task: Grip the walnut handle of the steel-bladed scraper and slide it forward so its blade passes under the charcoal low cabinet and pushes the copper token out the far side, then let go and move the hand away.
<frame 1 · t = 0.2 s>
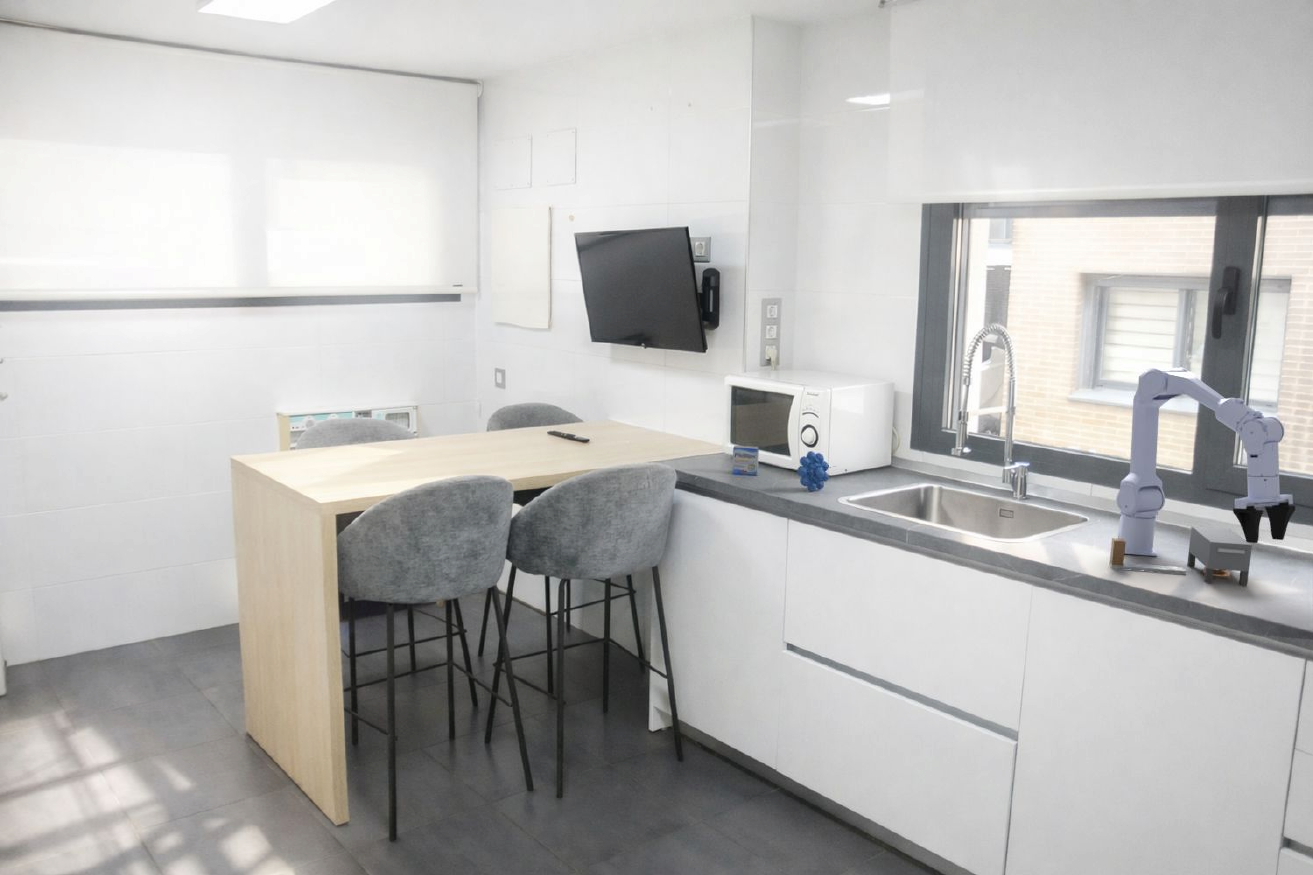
hand: (1265, 540, 214), 10 cm above the table, tool pointing down, fingers open, 7 cm apart
copper token: (1215, 576, 226), on the table
medicine box: (744, 474, 324), on the table
scraper: (1116, 568, 230), on the table
low cabinet: (1216, 575, 226), on the table
grapes: (814, 492, 300), on the table
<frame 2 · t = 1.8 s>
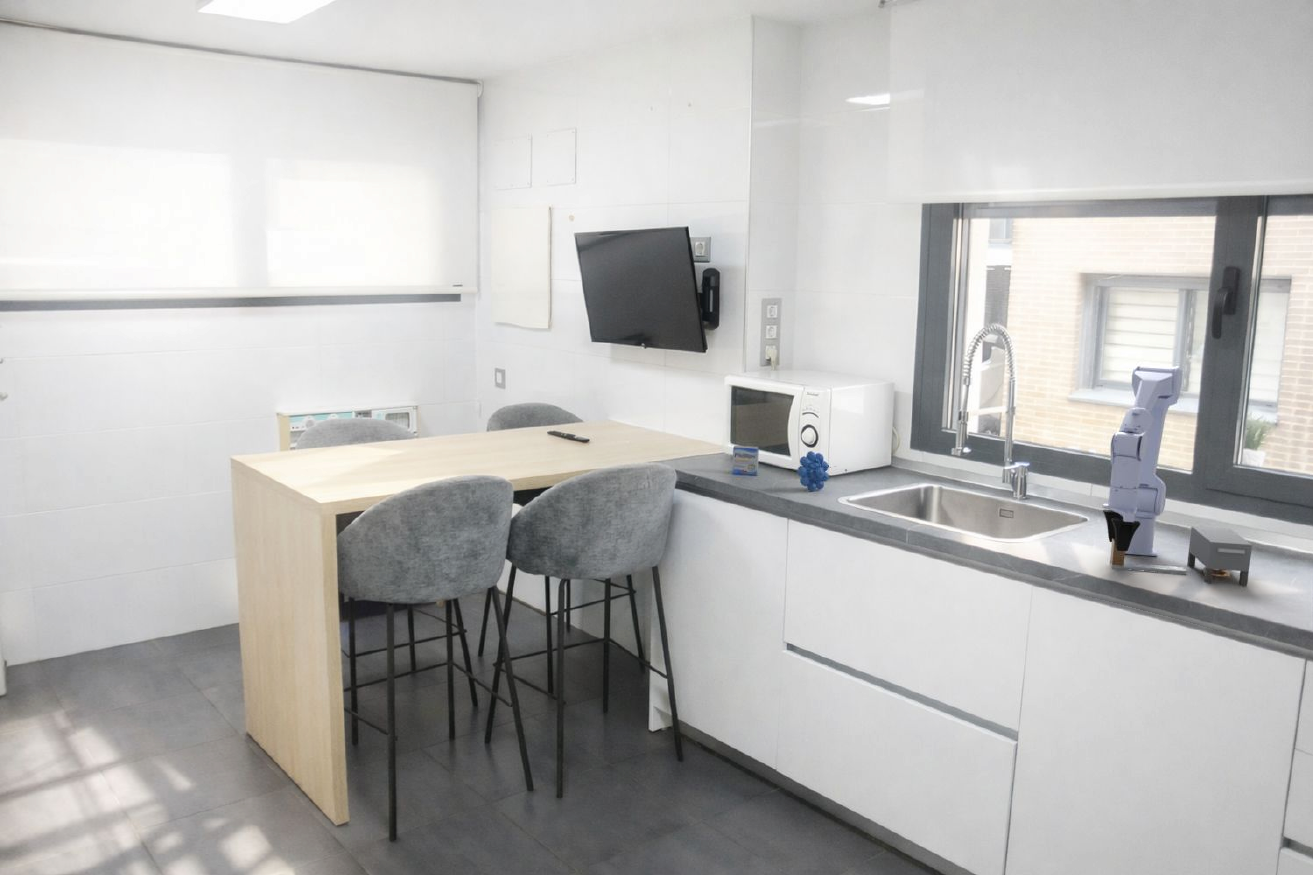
hand: (1118, 546, 229), 5 cm above the table, tool pointing down, fingers open, 7 cm apart
nothing on the table moved.
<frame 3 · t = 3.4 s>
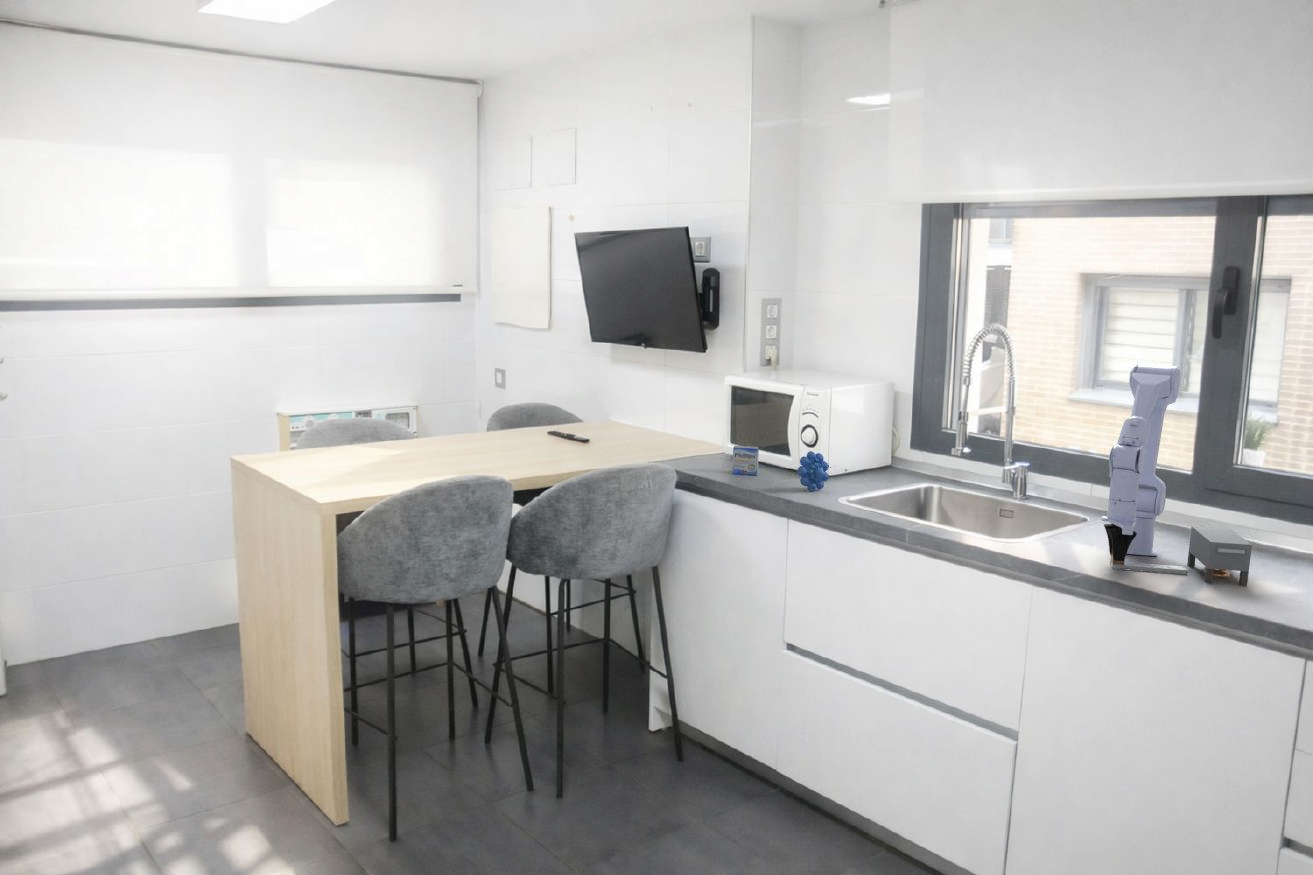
hand: (1117, 558, 230), 2 cm above the table, tool pointing down, fingers closed on scraper, 2 cm apart
scraper: (1116, 567, 230), on the table, touching gripper
everything else where it was.
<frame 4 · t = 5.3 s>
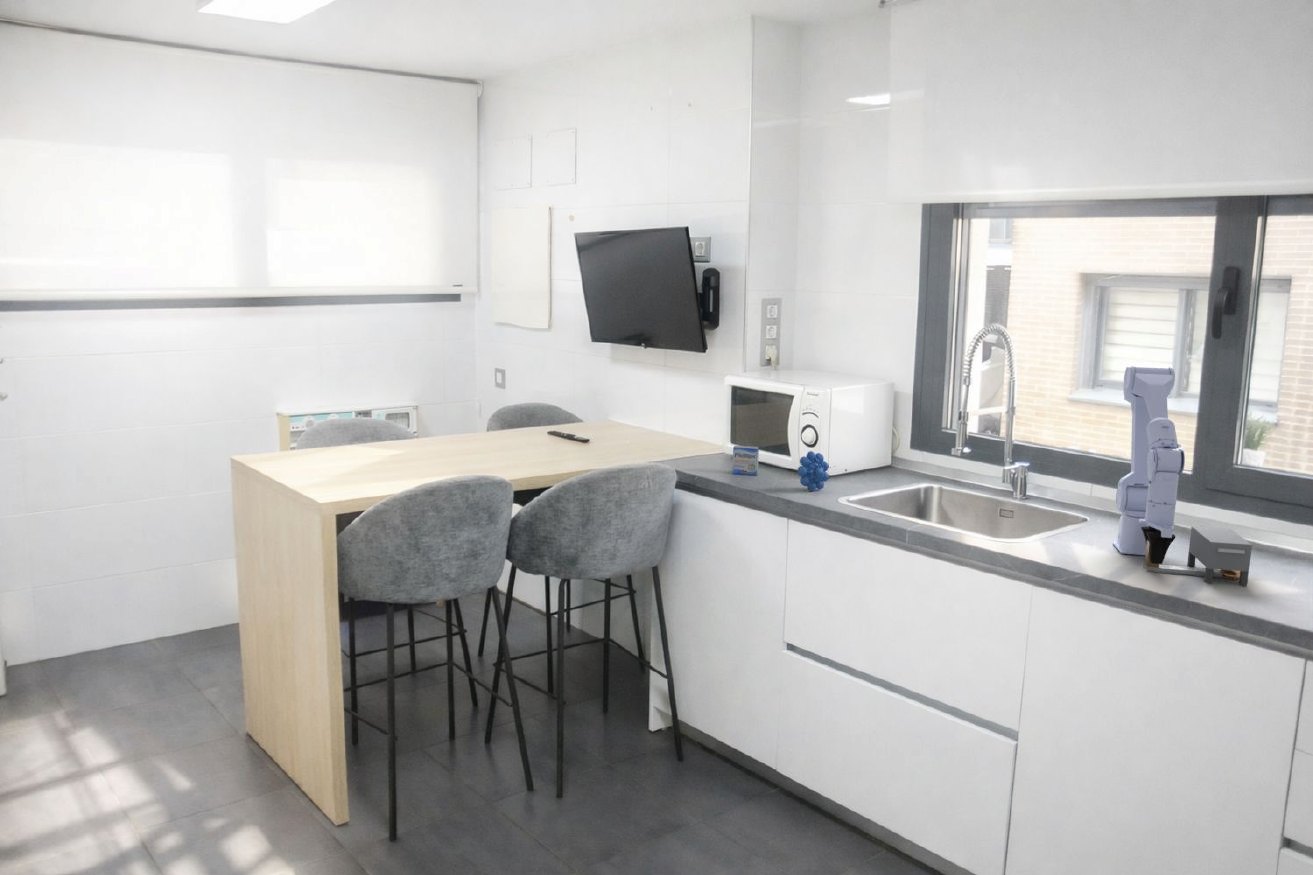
hand: (1154, 561, 228), 2 cm above the table, tool pointing down, fingers closed on scraper, 2 cm apart
copper token: (1232, 577, 225), on the table
scraper: (1151, 569, 228), on the table, touching gripper
everything else where it was.
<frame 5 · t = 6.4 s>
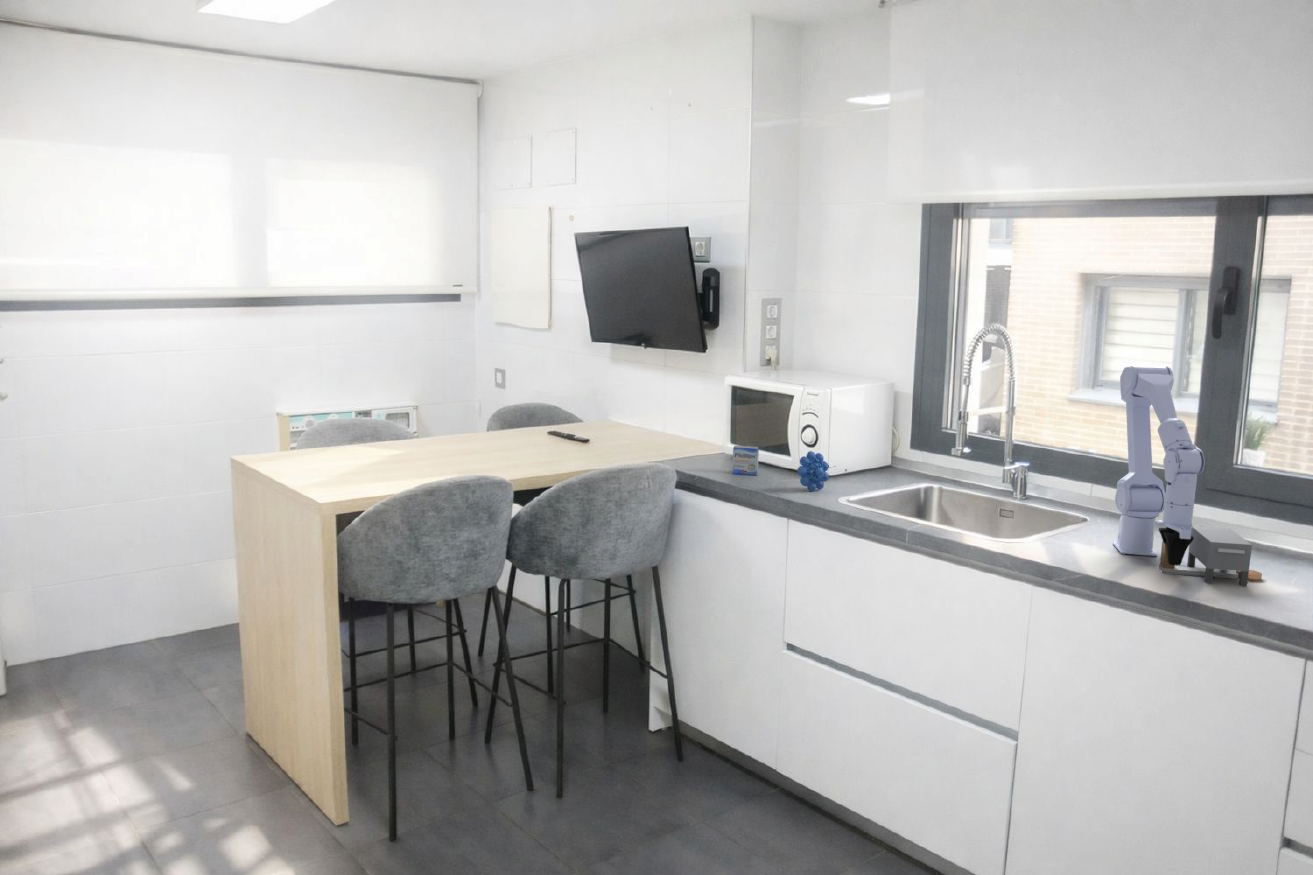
hand: (1172, 562, 227), 2 cm above the table, tool pointing down, fingers closed on scraper, 2 cm apart
copper token: (1247, 578, 224), on the table, touching scraper
scraper: (1166, 571, 228), on the table, touching copper token, gripper
everything else where it was.
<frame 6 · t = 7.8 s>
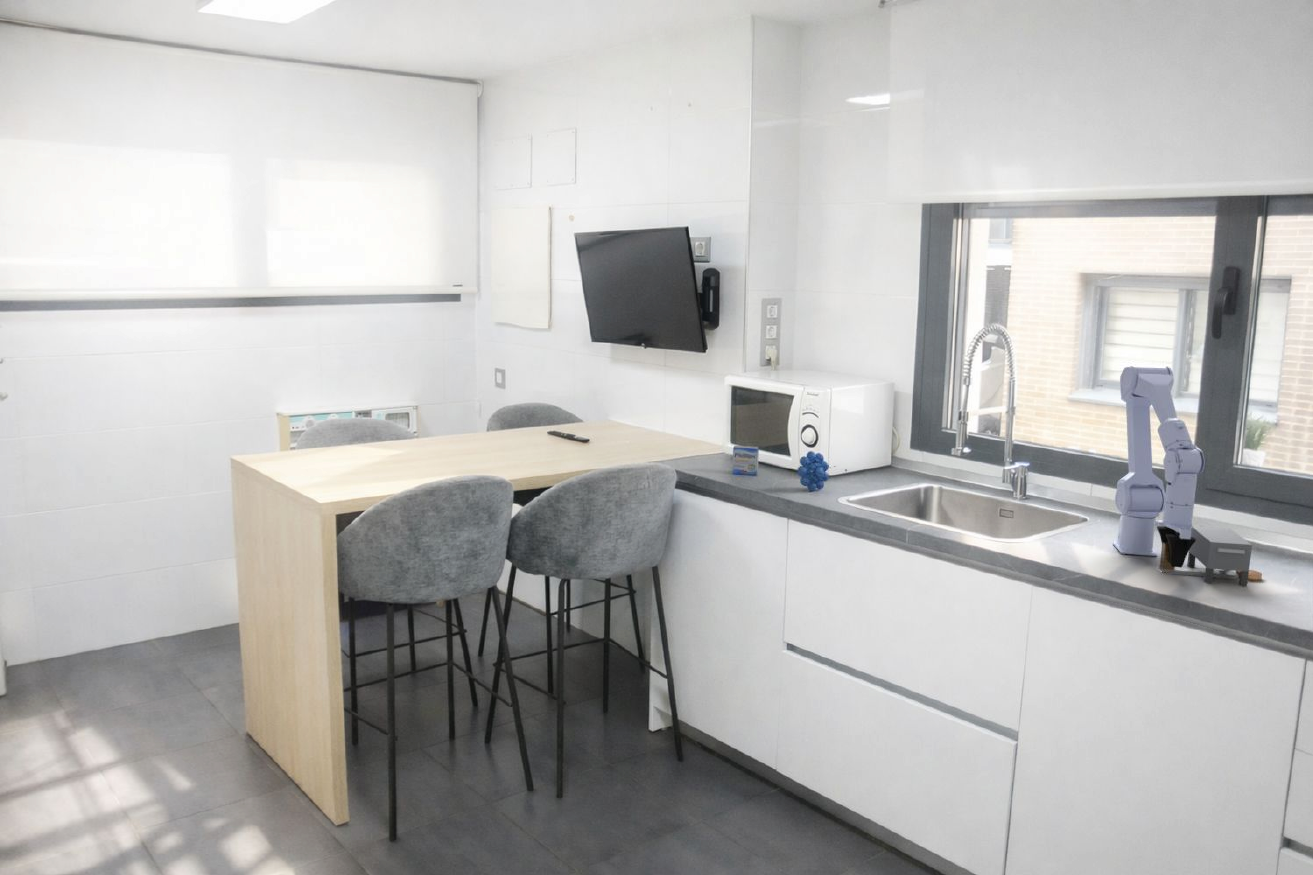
hand: (1172, 562, 227), 2 cm above the table, tool pointing down, fingers open, 5 cm apart
everything else where it was.
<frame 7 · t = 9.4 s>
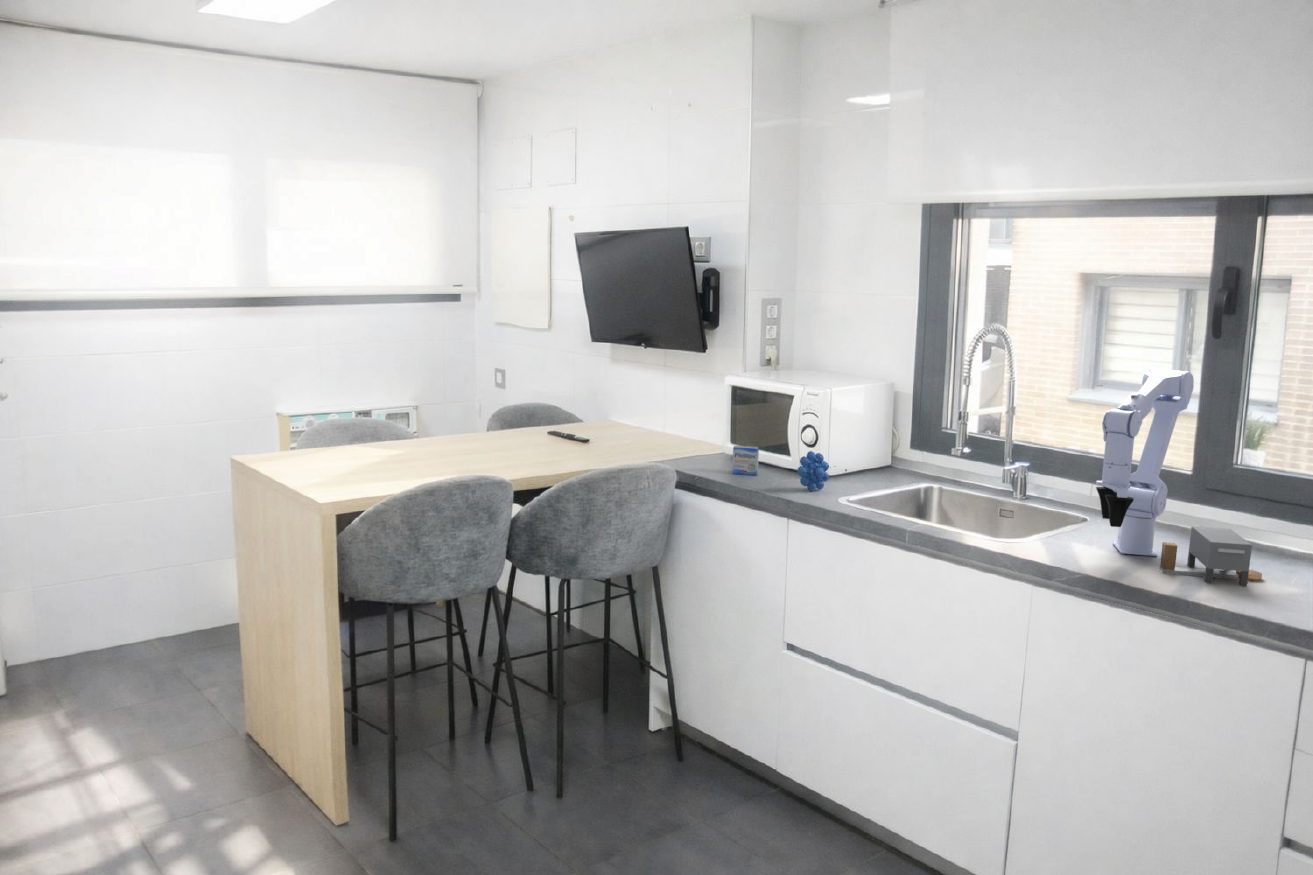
hand: (1111, 522, 232), 9 cm above the table, tool pointing down, fingers open, 7 cm apart
copper token: (1248, 578, 224), on the table
scraper: (1166, 572, 228), on the table
everything else where it was.
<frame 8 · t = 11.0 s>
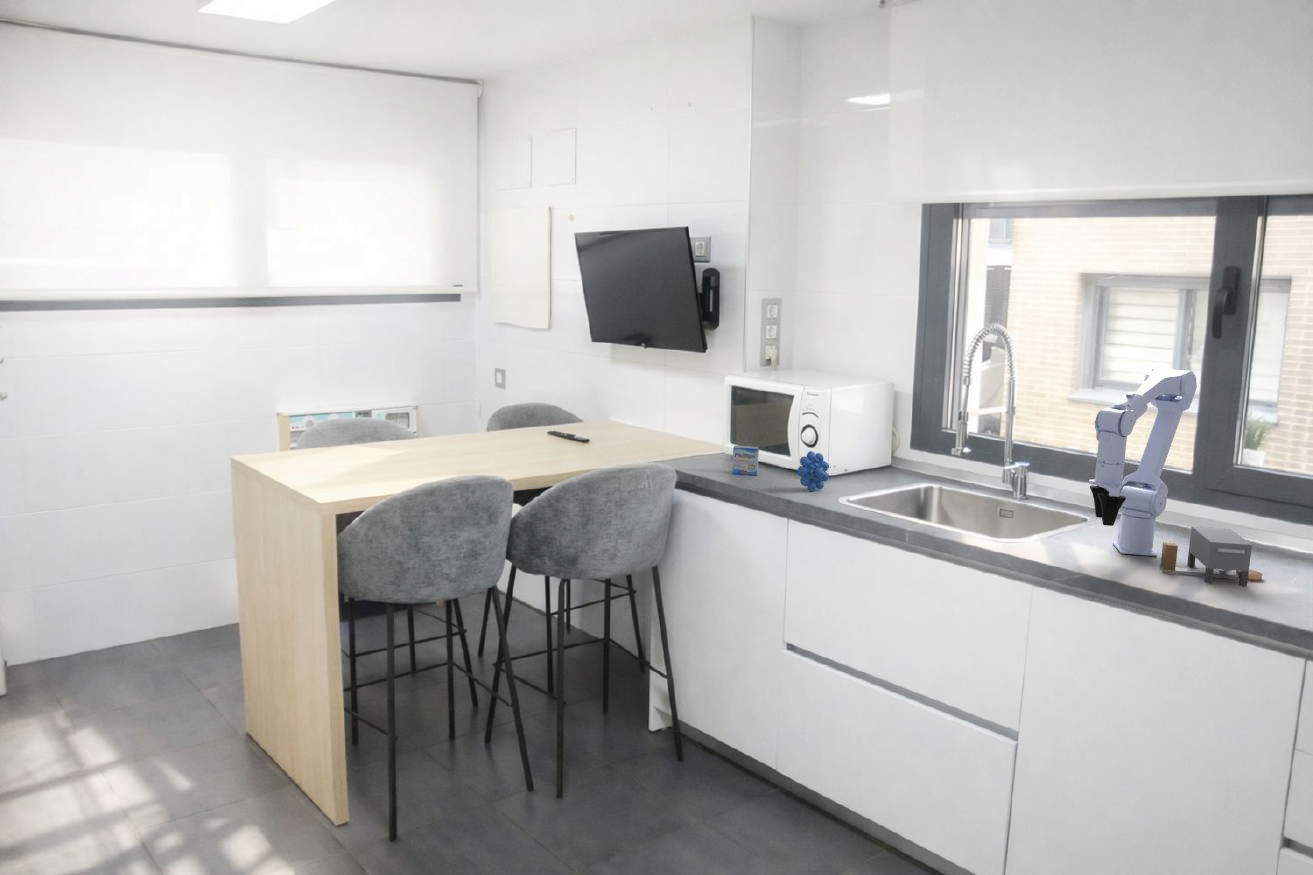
hand: (1104, 521, 233), 9 cm above the table, tool pointing down, fingers open, 7 cm apart
nothing on the table moved.
at the end: copper token inside the target area (3.3 cm from its centre), on the table; copper token tilted 0°; the gripper is holding nothing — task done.
